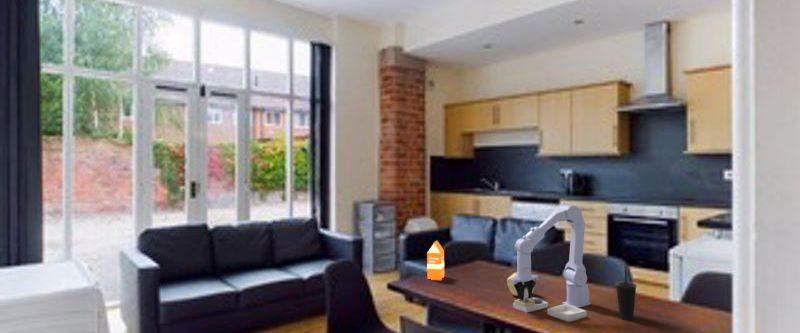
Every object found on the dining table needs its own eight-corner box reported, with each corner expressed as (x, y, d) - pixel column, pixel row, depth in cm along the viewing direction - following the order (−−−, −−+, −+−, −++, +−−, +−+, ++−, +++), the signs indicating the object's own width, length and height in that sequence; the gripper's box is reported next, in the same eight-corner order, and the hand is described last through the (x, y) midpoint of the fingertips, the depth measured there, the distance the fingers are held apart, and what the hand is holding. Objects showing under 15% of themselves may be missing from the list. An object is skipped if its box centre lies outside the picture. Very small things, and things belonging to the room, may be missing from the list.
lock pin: (524, 302, 203) (524, 286, 203) (530, 304, 201) (529, 288, 201) (519, 303, 202) (519, 287, 202) (524, 305, 199) (524, 289, 199)
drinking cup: (630, 315, 191) (630, 266, 190) (641, 321, 183) (640, 270, 183) (612, 315, 190) (611, 266, 190) (621, 322, 183) (621, 271, 183)
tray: (565, 310, 198) (565, 304, 198) (586, 317, 189) (586, 310, 189) (547, 314, 193) (547, 308, 193) (568, 322, 184) (568, 315, 184)
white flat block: (534, 302, 210) (534, 294, 210) (548, 307, 203) (548, 298, 203) (513, 307, 203) (512, 299, 203) (526, 312, 196) (526, 304, 196)
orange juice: (427, 279, 254) (426, 242, 253) (431, 275, 262) (430, 240, 262) (441, 280, 251) (440, 243, 251) (444, 276, 260) (444, 240, 260)
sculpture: (514, 290, 230) (514, 268, 230) (537, 294, 223) (537, 271, 222) (503, 295, 221) (503, 272, 221) (527, 300, 214) (527, 276, 213)
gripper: (529, 263, 208) (529, 293, 208) (504, 267, 201) (505, 299, 201) (541, 266, 202) (542, 297, 202) (516, 270, 195) (517, 303, 195)
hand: (524, 298), depth 201 cm, fingers open, 4 cm apart
